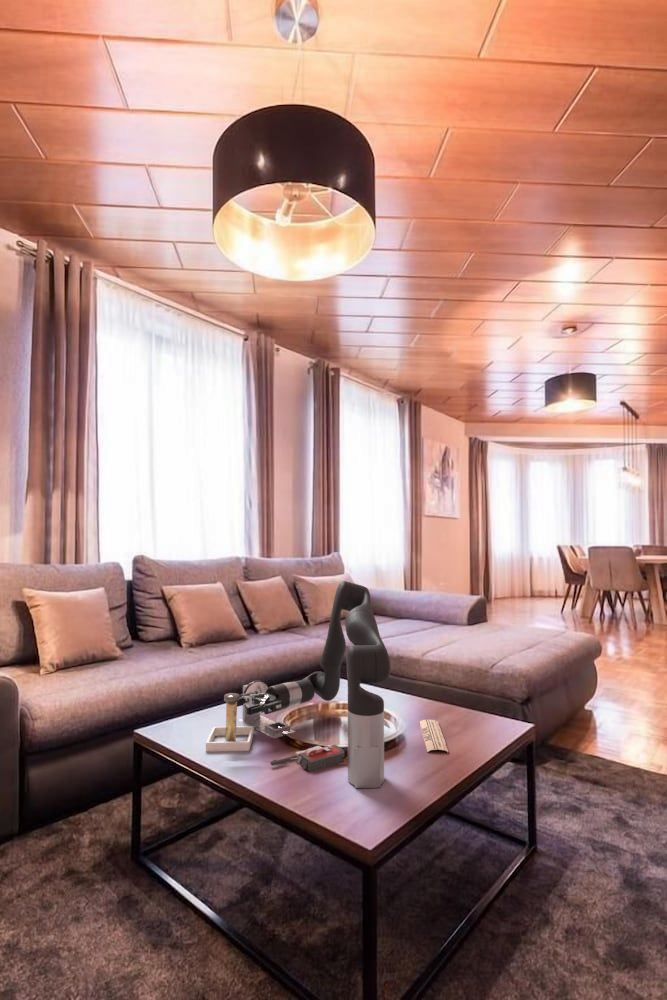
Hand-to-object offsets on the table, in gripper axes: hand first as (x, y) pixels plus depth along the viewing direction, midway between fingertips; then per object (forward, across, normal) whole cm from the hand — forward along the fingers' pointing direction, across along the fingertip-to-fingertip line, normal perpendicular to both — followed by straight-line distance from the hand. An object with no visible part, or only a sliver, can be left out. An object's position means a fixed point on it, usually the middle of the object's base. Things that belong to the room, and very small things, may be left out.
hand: (239, 707), depth 157 cm
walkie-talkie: (-7, +24, +11) cm, 27 cm away
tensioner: (-12, -4, +11) cm, 17 cm away
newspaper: (-46, +34, +12) cm, 59 cm away
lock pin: (+3, 0, +10) cm, 10 cm away
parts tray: (+3, 0, +10) cm, 11 cm away
